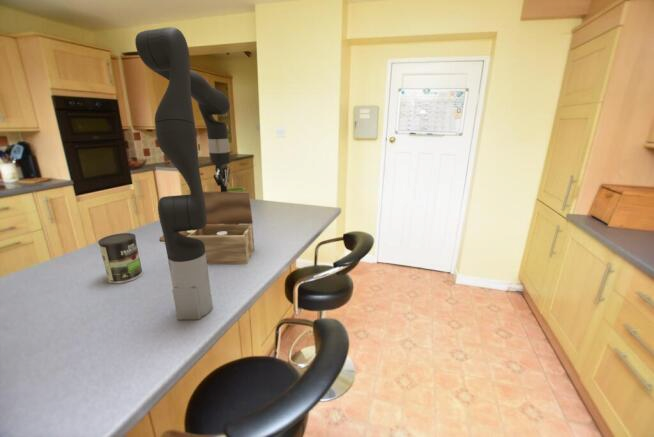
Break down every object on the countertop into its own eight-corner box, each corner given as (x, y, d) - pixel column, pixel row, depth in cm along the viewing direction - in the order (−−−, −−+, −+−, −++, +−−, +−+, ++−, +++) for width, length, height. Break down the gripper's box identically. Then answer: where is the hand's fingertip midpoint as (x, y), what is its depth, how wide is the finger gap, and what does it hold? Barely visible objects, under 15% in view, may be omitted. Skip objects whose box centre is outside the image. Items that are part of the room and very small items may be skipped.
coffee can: (149, 270, 108) (142, 233, 104) (126, 285, 99) (117, 245, 94) (125, 267, 110) (117, 231, 106) (99, 282, 101) (89, 242, 96)
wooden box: (246, 263, 114) (244, 236, 110) (190, 263, 114) (186, 236, 110) (254, 249, 127) (252, 224, 123) (204, 249, 126) (200, 224, 123)
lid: (248, 192, 117) (249, 190, 118) (193, 192, 116) (195, 190, 118) (252, 224, 123) (253, 222, 124) (200, 224, 122) (201, 222, 124)
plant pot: (241, 203, 197) (239, 186, 194) (249, 207, 189) (248, 189, 185) (223, 206, 190) (221, 188, 187) (231, 210, 181) (229, 192, 178)
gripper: (224, 153, 108) (229, 199, 114) (234, 148, 121) (238, 190, 127) (202, 153, 108) (209, 199, 114) (215, 148, 120) (220, 190, 126)
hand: (224, 194), depth 120 cm, fingers closed
